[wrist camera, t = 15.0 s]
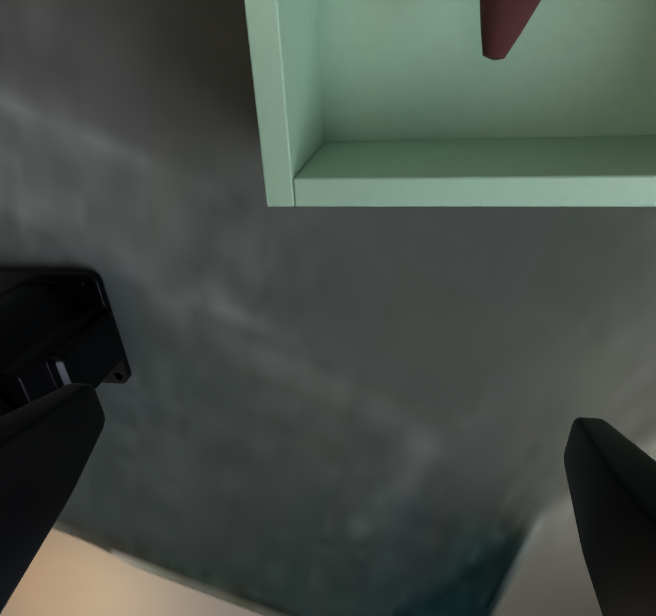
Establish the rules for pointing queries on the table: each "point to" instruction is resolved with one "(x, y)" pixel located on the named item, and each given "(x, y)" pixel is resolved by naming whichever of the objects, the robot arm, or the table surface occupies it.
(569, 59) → the green open box
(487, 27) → the icecream
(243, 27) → the table surface
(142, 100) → the table surface
